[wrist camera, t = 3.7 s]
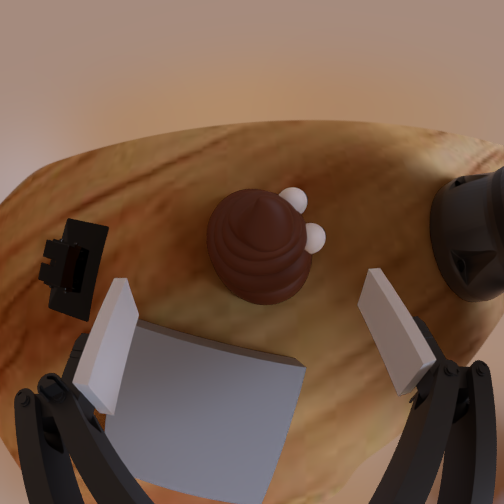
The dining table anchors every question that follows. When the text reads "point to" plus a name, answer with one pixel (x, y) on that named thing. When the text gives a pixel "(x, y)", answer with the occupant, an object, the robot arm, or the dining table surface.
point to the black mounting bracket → (73, 267)
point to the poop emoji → (263, 244)
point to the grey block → (203, 414)
